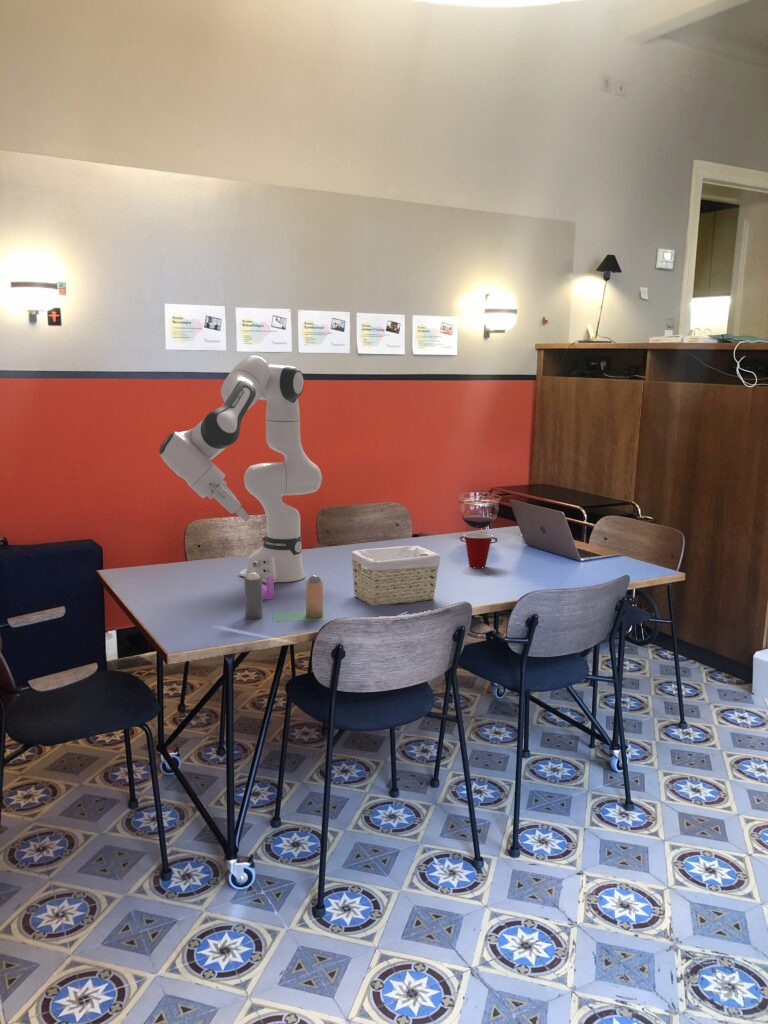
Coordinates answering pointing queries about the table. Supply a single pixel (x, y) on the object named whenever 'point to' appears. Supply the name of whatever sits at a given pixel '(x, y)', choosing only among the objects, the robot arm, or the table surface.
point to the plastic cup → (477, 548)
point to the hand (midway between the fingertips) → (246, 517)
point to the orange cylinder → (314, 597)
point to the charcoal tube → (253, 596)
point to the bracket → (268, 588)
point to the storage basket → (395, 574)
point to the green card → (296, 616)
